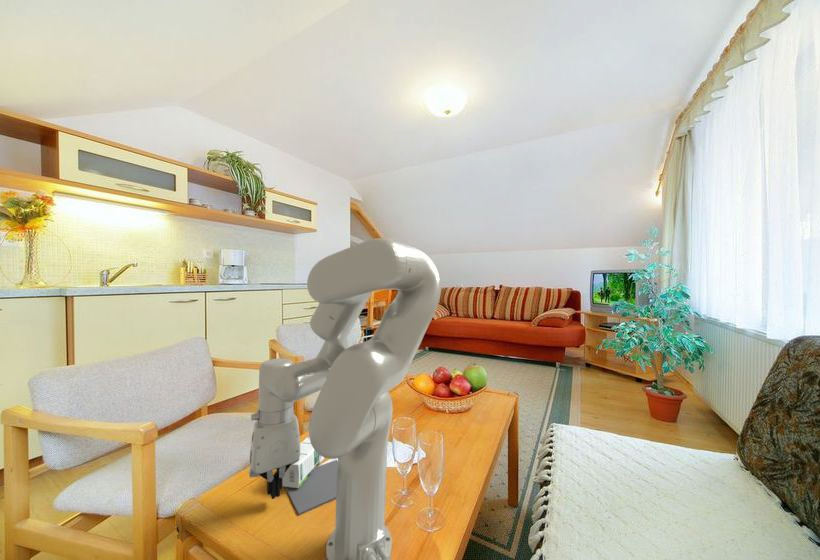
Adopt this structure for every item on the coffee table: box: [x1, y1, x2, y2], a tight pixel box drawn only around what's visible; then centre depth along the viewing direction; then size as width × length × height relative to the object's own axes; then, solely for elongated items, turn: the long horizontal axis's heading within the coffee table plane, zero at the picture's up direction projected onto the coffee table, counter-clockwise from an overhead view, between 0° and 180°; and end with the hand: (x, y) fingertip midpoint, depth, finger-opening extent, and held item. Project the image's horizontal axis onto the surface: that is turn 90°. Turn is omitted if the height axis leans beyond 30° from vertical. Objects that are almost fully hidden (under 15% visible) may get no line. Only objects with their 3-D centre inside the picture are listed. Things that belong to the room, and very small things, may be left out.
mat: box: [284, 459, 338, 516], centre depth 75 cm, size 14×15×1 cm
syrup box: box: [282, 436, 326, 488], centre depth 80 cm, size 6×6×14 cm
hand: (274, 494), depth 67 cm, fingers closed
